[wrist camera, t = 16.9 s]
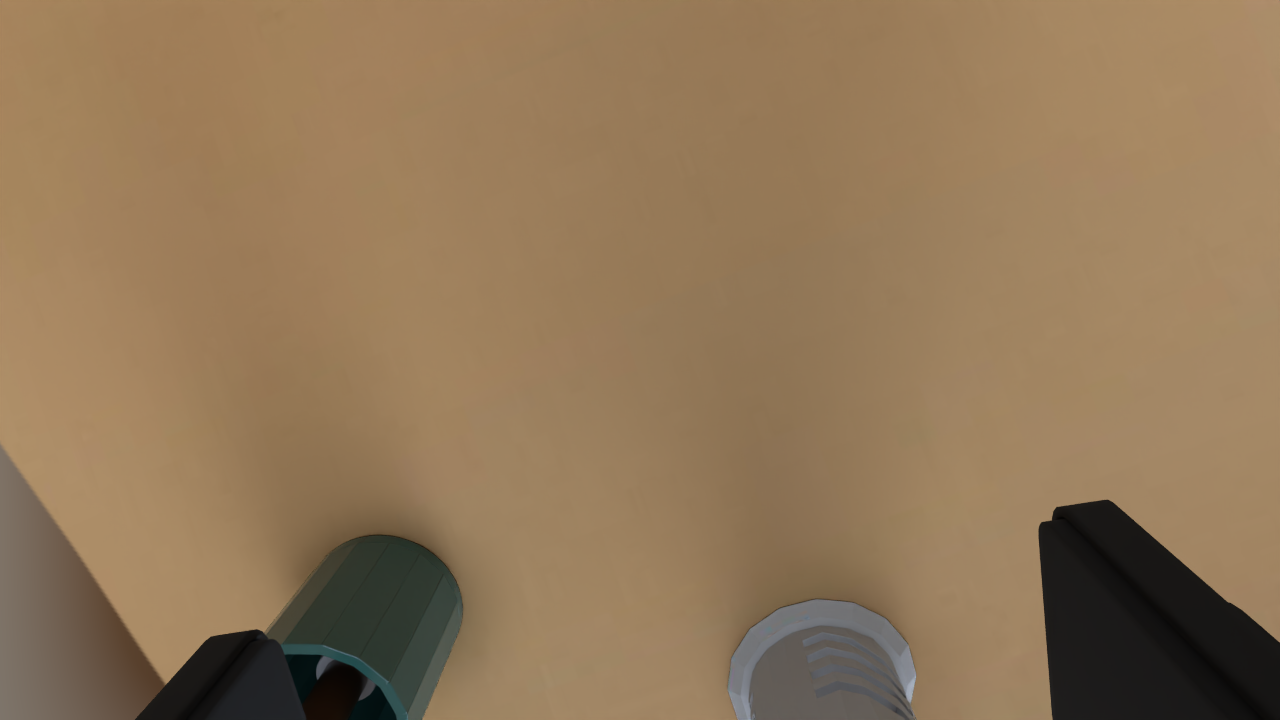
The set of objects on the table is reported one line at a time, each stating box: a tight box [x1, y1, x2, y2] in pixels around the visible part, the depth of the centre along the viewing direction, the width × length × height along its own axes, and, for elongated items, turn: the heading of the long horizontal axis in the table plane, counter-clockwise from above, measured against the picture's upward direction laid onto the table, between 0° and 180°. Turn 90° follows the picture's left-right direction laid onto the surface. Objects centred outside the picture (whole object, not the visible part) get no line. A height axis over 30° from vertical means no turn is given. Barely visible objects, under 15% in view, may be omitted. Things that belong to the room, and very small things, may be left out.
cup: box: [264, 535, 463, 720], centre depth 40 cm, size 8×8×10 cm
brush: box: [302, 655, 377, 720], centre depth 38 cm, size 4×4×14 cm
